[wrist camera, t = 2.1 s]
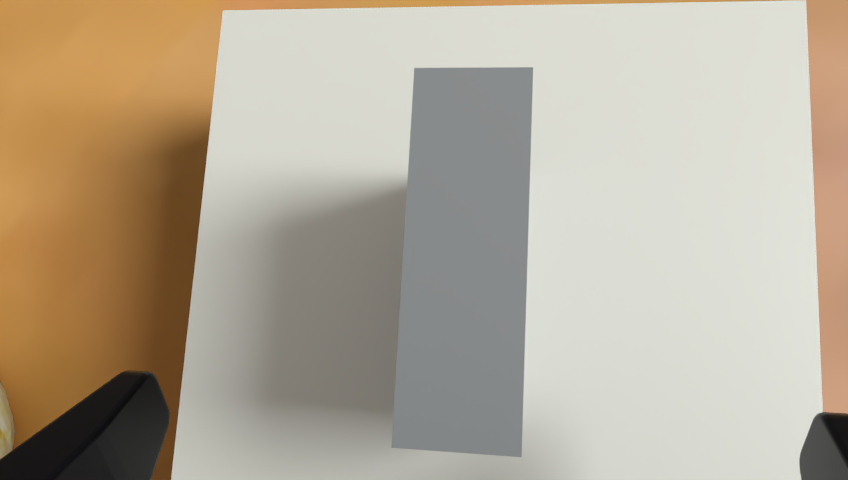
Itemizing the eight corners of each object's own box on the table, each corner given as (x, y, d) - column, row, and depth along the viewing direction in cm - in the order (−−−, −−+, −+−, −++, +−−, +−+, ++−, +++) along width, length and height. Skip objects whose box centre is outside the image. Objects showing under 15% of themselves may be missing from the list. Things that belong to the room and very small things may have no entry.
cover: (733, 572, 18) (1061, 889, 7) (264, 529, 20) (-57, 727, 9) (724, 106, 20) (965, -209, 9) (301, 104, 22) (80, -160, 11)
